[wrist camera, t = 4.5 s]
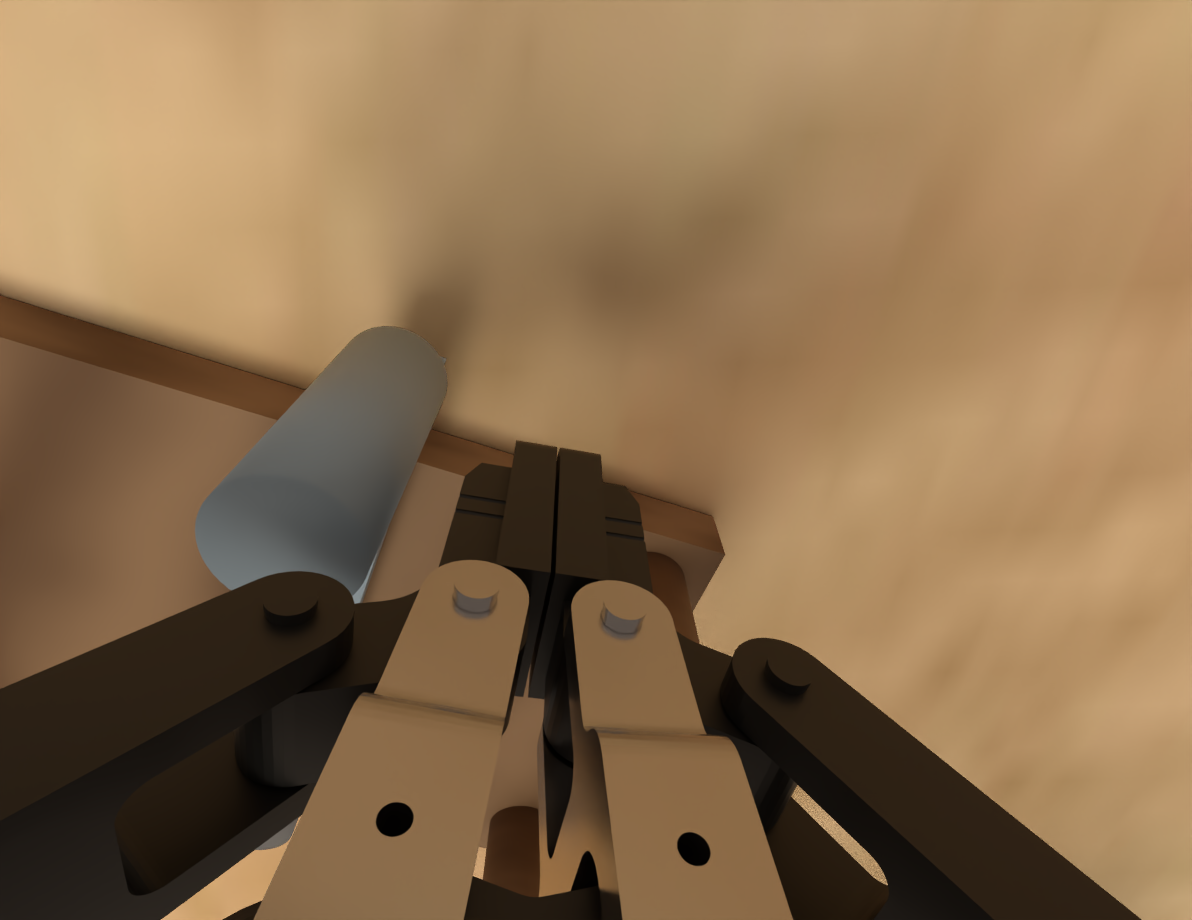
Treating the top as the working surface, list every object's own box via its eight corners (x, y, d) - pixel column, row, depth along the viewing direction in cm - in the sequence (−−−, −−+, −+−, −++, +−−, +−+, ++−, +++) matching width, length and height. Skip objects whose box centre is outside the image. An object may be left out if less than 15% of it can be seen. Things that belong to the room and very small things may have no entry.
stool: (713, 516, 21) (807, 809, 13) (552, 813, 28) (541, 1133, 20) (-147, 250, 17) (-926, 418, 8) (-84, 681, 24) (-467, 1020, 15)
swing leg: (307, 795, 24) (201, 1070, 17) (232, 777, 23) (93, 1055, 17) (472, 335, 16) (396, 512, 9) (365, 292, 15) (200, 447, 9)
